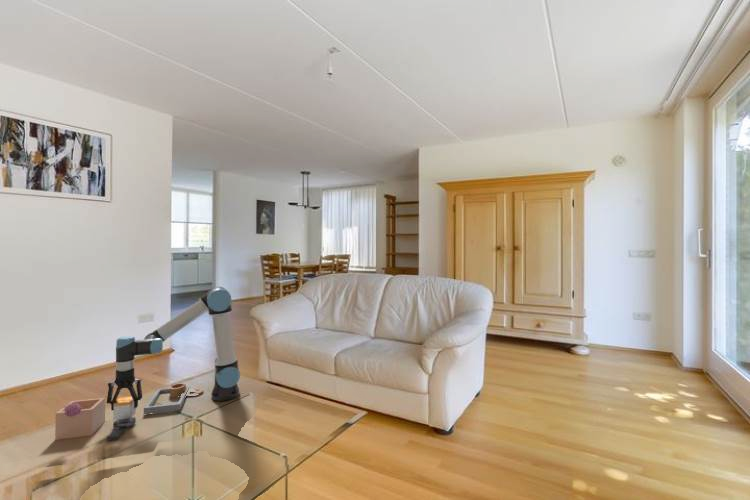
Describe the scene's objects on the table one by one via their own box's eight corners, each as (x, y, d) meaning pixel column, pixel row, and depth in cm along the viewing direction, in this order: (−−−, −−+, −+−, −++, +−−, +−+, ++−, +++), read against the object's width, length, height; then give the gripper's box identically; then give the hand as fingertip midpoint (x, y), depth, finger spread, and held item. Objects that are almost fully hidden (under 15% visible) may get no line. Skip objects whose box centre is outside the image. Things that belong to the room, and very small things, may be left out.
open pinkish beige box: (105, 421, 177) (105, 397, 178) (92, 435, 164) (92, 409, 164) (71, 425, 173) (71, 401, 173) (55, 439, 160) (55, 413, 160)
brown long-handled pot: (167, 401, 203) (167, 389, 202) (173, 394, 211) (172, 383, 211) (200, 398, 206) (200, 386, 205) (205, 392, 214) (204, 380, 213)
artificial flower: (86, 423, 172) (74, 418, 153) (70, 419, 170) (56, 414, 151) (95, 409, 176) (84, 402, 156) (80, 405, 174) (67, 398, 155)
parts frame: (190, 392, 215) (190, 386, 215) (180, 411, 189) (180, 404, 189) (158, 395, 210) (158, 389, 210) (143, 415, 184) (143, 408, 184)
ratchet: (138, 420, 179) (138, 404, 179) (124, 439, 161) (124, 421, 161) (117, 423, 176) (117, 406, 176) (100, 442, 158) (100, 424, 158)
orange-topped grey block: (135, 411, 178) (135, 396, 178) (130, 418, 171) (130, 401, 171) (119, 413, 175) (119, 397, 175) (113, 420, 169) (113, 403, 169)
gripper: (150, 364, 180) (150, 409, 180) (104, 368, 174) (103, 414, 174) (146, 369, 173) (145, 416, 173) (97, 373, 167) (97, 421, 167)
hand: (124, 415), depth 173 cm, fingers closed on orange-topped grey block, 7 cm apart
